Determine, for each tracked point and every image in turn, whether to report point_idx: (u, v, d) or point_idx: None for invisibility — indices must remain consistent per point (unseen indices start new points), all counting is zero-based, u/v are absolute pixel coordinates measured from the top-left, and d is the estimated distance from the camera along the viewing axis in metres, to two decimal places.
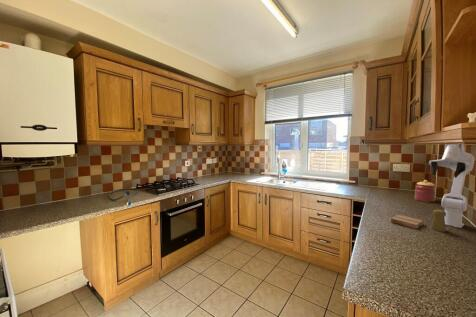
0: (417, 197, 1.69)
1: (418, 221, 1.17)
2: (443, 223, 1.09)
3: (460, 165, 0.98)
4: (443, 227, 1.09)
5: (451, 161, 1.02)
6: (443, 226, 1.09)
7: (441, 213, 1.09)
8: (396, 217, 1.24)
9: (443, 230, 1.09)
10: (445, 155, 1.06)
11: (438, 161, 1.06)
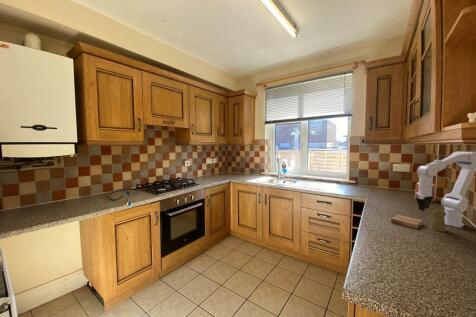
0: None
1: (418, 221, 1.17)
2: (443, 223, 1.09)
3: None
4: (443, 227, 1.09)
5: (420, 194, 1.17)
6: (443, 226, 1.09)
7: (441, 213, 1.09)
8: (396, 217, 1.24)
9: (443, 230, 1.09)
10: None
11: None
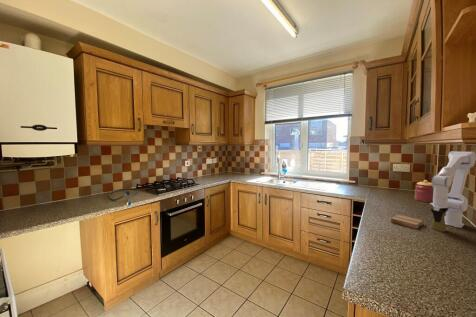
0: (417, 197, 1.69)
1: (418, 221, 1.17)
2: (443, 223, 1.09)
3: None
4: (443, 227, 1.09)
5: None
6: (443, 226, 1.09)
7: None
8: (396, 217, 1.24)
9: (443, 230, 1.09)
10: None
11: None
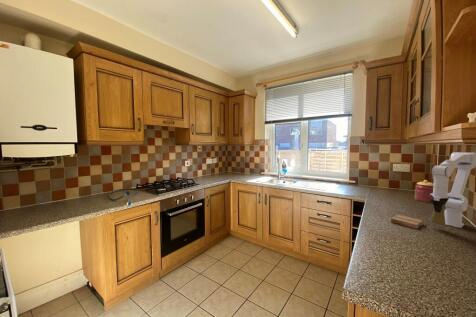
0: (417, 197, 1.69)
1: (418, 221, 1.17)
2: (443, 216, 1.09)
3: None
4: (442, 220, 1.09)
5: None
6: (443, 219, 1.09)
7: None
8: (396, 217, 1.24)
9: (442, 223, 1.09)
10: None
11: None
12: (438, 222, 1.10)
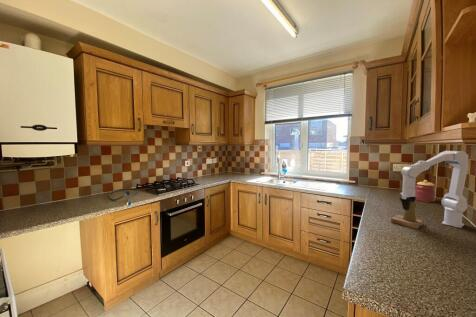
0: (417, 197, 1.69)
1: (418, 221, 1.17)
2: (413, 214, 1.17)
3: None
4: (413, 217, 1.17)
5: None
6: (414, 217, 1.17)
7: (411, 204, 1.17)
8: (396, 217, 1.24)
9: (413, 220, 1.17)
10: None
11: None
12: (409, 219, 1.17)
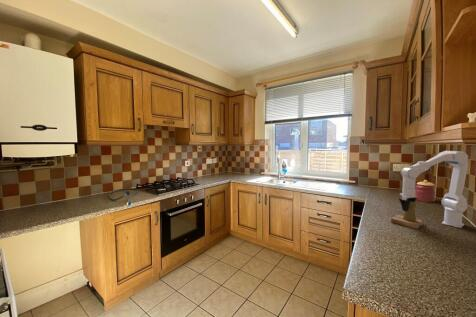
0: (417, 197, 1.69)
1: (418, 221, 1.17)
2: (413, 214, 1.17)
3: None
4: (413, 217, 1.17)
5: (404, 195, 1.20)
6: (414, 217, 1.17)
7: (411, 204, 1.17)
8: (396, 217, 1.24)
9: (413, 220, 1.17)
10: None
11: None
12: (409, 219, 1.17)
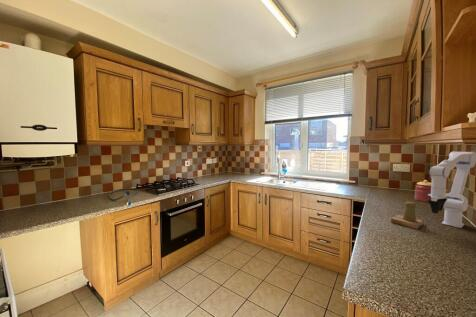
0: (417, 197, 1.69)
1: (418, 221, 1.17)
2: (413, 214, 1.17)
3: None
4: (413, 217, 1.17)
5: None
6: (414, 217, 1.17)
7: (411, 204, 1.17)
8: (396, 217, 1.24)
9: (413, 220, 1.17)
10: None
11: None
12: (409, 219, 1.17)
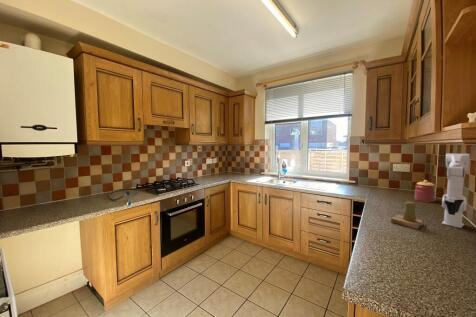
0: (417, 197, 1.69)
1: (418, 221, 1.17)
2: (413, 214, 1.17)
3: None
4: (413, 217, 1.17)
5: None
6: (414, 217, 1.17)
7: (411, 204, 1.17)
8: (396, 217, 1.24)
9: (413, 220, 1.17)
10: None
11: None
12: (409, 219, 1.17)
